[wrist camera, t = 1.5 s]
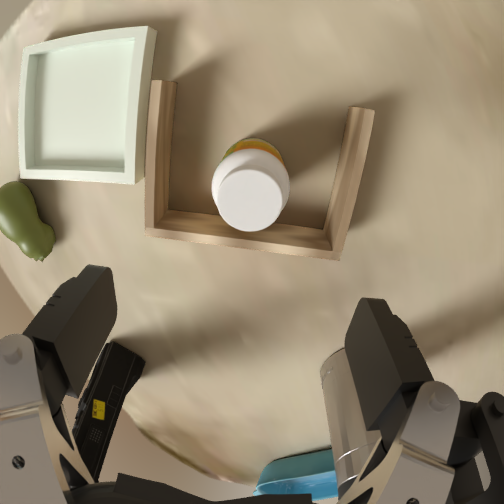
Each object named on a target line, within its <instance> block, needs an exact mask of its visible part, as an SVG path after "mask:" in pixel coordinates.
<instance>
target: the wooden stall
mask: <svg viewBox="0 0 504 504" xmlns="http://www.w3.org/2000/svg"><path fill="white" fill-rule="evenodd" d="M176 89H177V83H175V82H170V81H164V80H152V82H151V91H150V101H149V113H148V126H147V143H146V165H145V236H150V237H158V238H165V239H173V240H181V241H189V242H197V243H205V244H213V245H220V246H228V247H236V248H244V249H252V250H259V251H267V252H275V253H283V254H290V255H298V256H306V257H313V258H321V259H329V260H337V261H339V260H340V256H341V253H342V250H343V246H344V242H345V239H346V235H347V232H348V228H349V224H350V221H351V217H352V213H353V209H354V205H355V201H356V197H357V193H358V189H359V185H360V181H361V176H362V172H363V168H364V163H365V159H366V154H367V150H368V145H369V140H370V135H371V130H372V125H373V120H374V114H375V111H374V110H370V109H367V108H360V107H350V106H349V109H348V115H347V120H346V126H345V131H344V136H343V142H342V147H341V152H340V157H339V161H338V166H337V171H336V176H335V180H334V185H333V190H332V194H331V198H330V203H329V207H328V212H327V216H326V220H325V224H324V228H323V230H322V229H315V228H308V227H301V226H294V225H287V224H280V223H272V224H271V225H270V226H268V227H266V228H264V229H262V230H258V231H250V232H249V231H242V230H239V229H236V228H234V227H232V226H231V225H229V224H228V223H227V222H226V221H225V220H224V219H223V218H222V216H219V215H211V214H202V213H194V212H185V211H176V210H168V196H169V174H170V157H171V143H172V130H173V118H174V108H175V98H176Z"/></svg>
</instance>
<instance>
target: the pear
mask: <svg viewBox="0 0 504 504" xmlns="http://www.w3.org/2000/svg"><path fill="white" fill-rule="evenodd" d="M0 230H1V232H2V233H3V234H4V235H5V236H6V237H7V238H9V239H10V240H11V241H13V242H15V243H16V244H17V245H18V246H19V248H20V249H21V251H22V252H23V253H24V254H25V255H27V256H28V257H29V258H34V259H35V261H37V260H38V259H39V260H40V261H42V262H43V260H44V258H46V257H47V256H48V255H49V254H50V253H51V252H52V248H53V245H54V242H55V241H56V239H55V234H54V231H53V229H52V227H50V226H49V225H47V224H45V223H43V222H41V220H40V218H39V217H38V213H37V208H36V204H35V201H34V198H33V196H32V194H31V192H30V190H29V189H28V187H27V186H26V185H24V184H23V183H21V182H17V181H13V182H9V183H6V184H4V185H3V186H2V187H1V188H0Z"/></svg>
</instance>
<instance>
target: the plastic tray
mask: <svg viewBox="0 0 504 504" xmlns="http://www.w3.org/2000/svg"><path fill="white" fill-rule="evenodd" d="M156 37H157V31H156V30H154V29H153V28H151V27H149V26H138V27H127V28H117V29H109V30H102V31H95V32H89V33H83V34H77V35H72V36H67V37H63V38H58V39H54V40H49V41H45V42H41V43H38V44H34V45H30V46H27V47H24V48H23V55H22V64H21V73H20V85H19V103H18V149H19V167H20V179H49V180H72V181H90V182H106V183H120V184H133V185H135V184H136V183H137V182H139V181H140V180H141V179H143V178H144V168H145V144H146V127H147V114H148V102H149V92H150V82H151V73H152V65H153V58H154V50H155V43H156Z"/></svg>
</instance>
